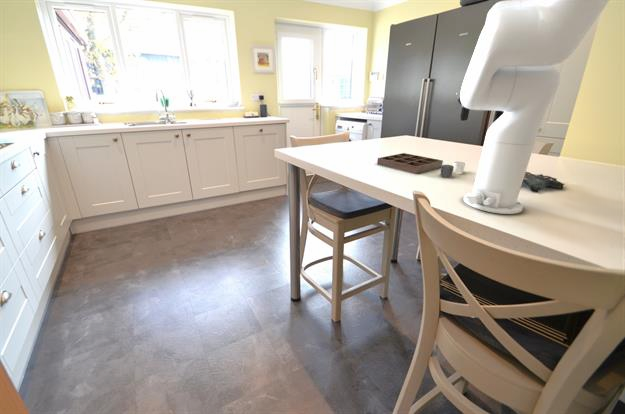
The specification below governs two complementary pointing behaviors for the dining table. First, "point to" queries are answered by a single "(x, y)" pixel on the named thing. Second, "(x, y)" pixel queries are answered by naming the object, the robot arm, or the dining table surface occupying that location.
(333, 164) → the dining table surface
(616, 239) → the dining table surface
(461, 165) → the white stone
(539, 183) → the decorative rock
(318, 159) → the dining table surface
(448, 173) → the black stone
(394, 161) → the board
